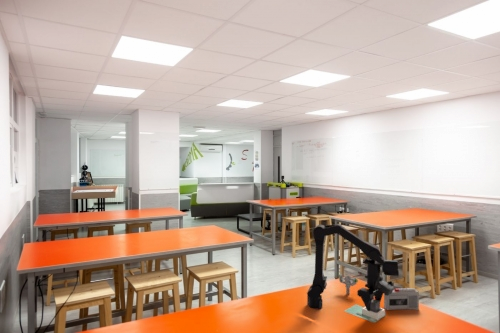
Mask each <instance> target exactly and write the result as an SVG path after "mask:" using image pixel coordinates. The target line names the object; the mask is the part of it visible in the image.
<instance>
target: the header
mask: <svg viewBox="0 0 500 333" xmlns="http://www.w3.org/2000/svg"><path fill="white" fill-rule="evenodd" d="M363 307H364V308H362V314H363V315H366V316H368V317H371V318H375V319H377V320H378V319H380V318H381V317H383V316H384V315H386V309H385V308H382V307H380V311H379V312H378V313H376V312H373V311H368V310H367V309H366V306H363ZM384 317H385V316H384ZM384 317H383V318H384ZM381 319H382V318H381ZM381 319H380V320H381ZM378 321H379V320H378Z"/></svg>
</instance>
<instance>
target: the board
mask: <svg viewBox="0 0 500 333" xmlns="http://www.w3.org/2000/svg"><path fill="white" fill-rule="evenodd" d="M364 307H365V306H361V305H359V304H353V305H352V306H350V307H349V308H347V309H345V310H343V312H344V313H347V314H350V315H353V316H355V317H357V318H361V319H363V320H366V321H367V322H368V321H369V322H371V323H375V324H376V322H378V321H379V320H381V319H382V318H385V316H386V317H387V315H386V314H385V315H384V316H383V317H381V318H380V319H378V320H377V319H375V318H371V317H368V316H366V315H363V314H362V308H364Z"/></svg>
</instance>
